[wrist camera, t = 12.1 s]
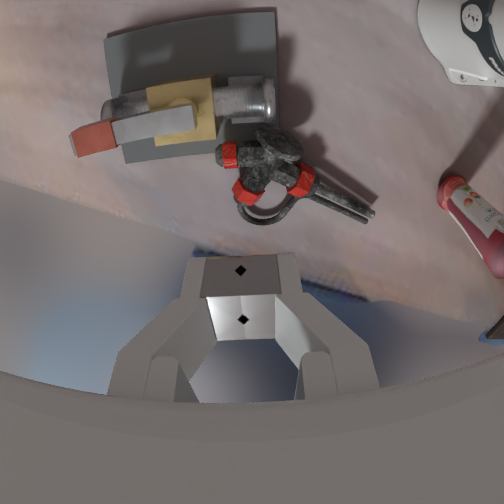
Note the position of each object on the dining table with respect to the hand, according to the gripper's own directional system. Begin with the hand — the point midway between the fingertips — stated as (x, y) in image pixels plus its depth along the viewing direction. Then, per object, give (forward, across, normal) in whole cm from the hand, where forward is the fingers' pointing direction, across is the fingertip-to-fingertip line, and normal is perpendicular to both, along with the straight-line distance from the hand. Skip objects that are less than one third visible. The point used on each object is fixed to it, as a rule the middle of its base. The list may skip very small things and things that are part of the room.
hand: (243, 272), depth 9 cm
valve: (+33, -6, +14) cm, 36 cm away
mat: (+33, +7, -2) cm, 34 cm away
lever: (+25, +12, 0) cm, 27 cm away
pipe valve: (+33, +7, 0) cm, 34 cm away
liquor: (+33, -34, +14) cm, 50 cm away
